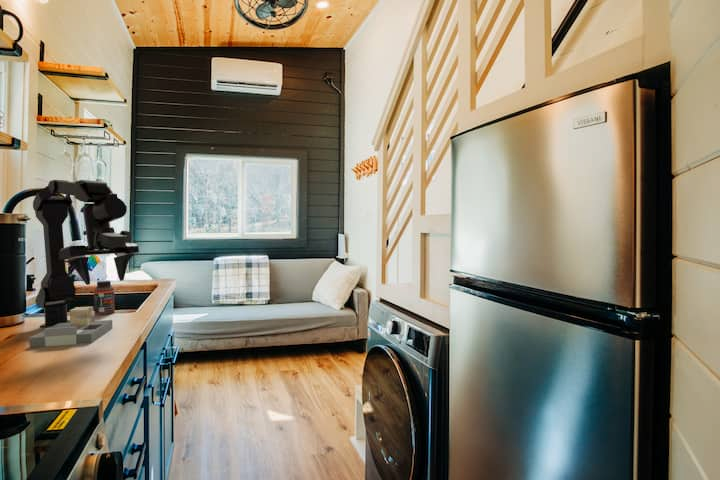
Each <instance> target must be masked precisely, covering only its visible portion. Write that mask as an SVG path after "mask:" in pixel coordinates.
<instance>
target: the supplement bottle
mask: <svg viewBox="0 0 720 480" xmlns="http://www.w3.org/2000/svg"><path fill="white" fill-rule="evenodd" d="M111 283H112V282H111V280H98V281H97V282H96V285H97V286H96V287H95V288H94V290H93V295H94V296H93V303H94V305H93V308H94V314H95V315H96V316H105V315H107V316H108V315H111V314H114V313H115V308H116V306H115V288H114V287H113V286H112V285H111Z"/></svg>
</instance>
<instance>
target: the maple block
mask: <svg viewBox="0 0 720 480" xmlns="http://www.w3.org/2000/svg"><path fill="white" fill-rule="evenodd" d="M69 320H70V326H77V325H88V324H90V323H92V322H93V321H95V320H94V305H93V306H79V307H78V306H76V307H74V308H72V309H69Z"/></svg>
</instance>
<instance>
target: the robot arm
mask: <svg viewBox="0 0 720 480" xmlns="http://www.w3.org/2000/svg"><path fill="white" fill-rule="evenodd" d="M54 194H55V195H54ZM56 194H60V195H65V197H64V196H59V195H58V196H56ZM71 196H74V199H76V200H78V201H80V202H84V204H83V206H82V207H81V208H80V213H83V218H84V219H83V220H84V227H85V230H84V231H83V232H82V234H83V236H86V241H87V245H82V244H81V245H70V246H67V247H65V244H64V243H65V242H64V241H65V240H64V232H63V231H64V230H63V228H64V227H63V225H64V222H65V221H66V220H67V218H68V217H69V210H70V208H71V206H72V204H73V199H72V197H71ZM32 209H33V210H34V213H35V217H36V219H37V220H38V222H40V223H41V224H42V227H43V238H44V251H45V252H44V253H45V254H44V255H45V266H46V273H45V275H44V276H43V278H42V280H41V281H40V288H39V291H38V293H37V295H36V297H35V305H36V307H37V308H40V309H41V308H42V309H43V310H44V313H43V314H44V323H43V324H41V325H40V326H39V328H50V327H52V326H54V325H56V324H58V323H70V319H68V305H70V304H74V303H75V301H76V300H75V299H76V293H77V292H76V291H77V288H76V286H75V279H74V277H73V276H71V275H70V274H69V273H68V272H67V268H66V264H70V266H71V267H72V269H74V270H75V272H76V273H78V275H79V276H80V278H81V279H82V281H83V283H84V284H85V285H86V286H87V285H89V286H90V285H91V278H90V271H89V265H88V263H89V259H90V256H95V255H97V256H99V255H111V254H112V255H113V254H114V255H115V256H116V257H115V256H114V257H113V260H114V264H115V268H116V273H117V276H118V279H119V281H120V282H121V281H122V282H123V281H124V280H125V276H126V273H127V272H126V271H127V267H128V266H129V265H128V264H129V262H130V260H131V259H132V257H135V256H136V254H138V253H140V248H139V246H138V244H137V243H132V239H133V237H132V233H131V231H130V230H121V231H120V233H119V232H118V233H116V232H115V229H114V227H111V224H110V223H111V222H114V221H116V220H118V219H122V218H123V217H125V215H126V214H127V209H128V207H127V204H125V202H124V200H123V199H120V198H119V197H118V193H115V192H113V191H112V189H111V188H110V186H109V185H108V182H106V181H101V180H87V179H86V180H84V179H80V180H76V181H70V180H66V179H65V180H64V179H52V180H49V182H48V185H47V186H45V187H44V188H42V189H40V190H39V191H37V193H36V194H35V197H34V199H33V200H32Z"/></svg>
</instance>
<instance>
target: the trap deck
mask: <svg viewBox="0 0 720 480" xmlns="http://www.w3.org/2000/svg"><path fill="white" fill-rule="evenodd" d="M112 329H113V319H108V320H107V319H106V320H94V321H93V322H92V323H90V324H88V325H77V326H70V323H58V324H56V325H54V326H52V327H45V328H44V330H43V331H41V332H38V333H36V334H34V335H32V336H30V337H29V338H28V342H29V344H28V345H29V348H30V349H31V348H42V347H43V348H46V347H55V346H56V347H57V346H69V345H70V346H71V345H72V346H73V345H85V344H93V343H95V341H97V340H98V339H100V338H101V337H102V336H103V335H105V334H107V333H108V332H110V331H111V330H112Z"/></svg>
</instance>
